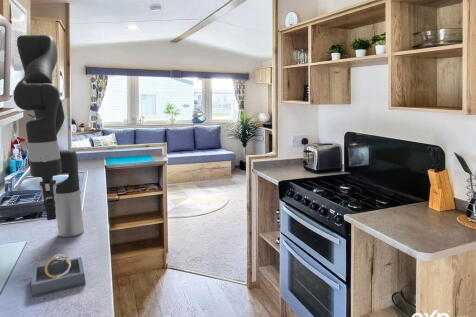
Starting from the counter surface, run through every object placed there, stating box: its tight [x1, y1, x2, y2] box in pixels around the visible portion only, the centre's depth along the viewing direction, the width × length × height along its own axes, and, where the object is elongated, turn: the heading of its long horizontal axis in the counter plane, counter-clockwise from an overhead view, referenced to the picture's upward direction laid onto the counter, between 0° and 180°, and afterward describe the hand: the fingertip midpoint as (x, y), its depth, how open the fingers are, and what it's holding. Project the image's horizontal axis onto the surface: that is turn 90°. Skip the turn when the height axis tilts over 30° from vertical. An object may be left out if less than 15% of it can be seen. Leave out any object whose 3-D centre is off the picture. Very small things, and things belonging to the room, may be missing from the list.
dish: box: [30, 256, 86, 298], centre depth 102 cm, size 12×13×4 cm
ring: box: [44, 253, 72, 279], centre depth 104 cm, size 7×3×8 cm
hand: (51, 215), depth 99 cm, fingers open, 8 cm apart
